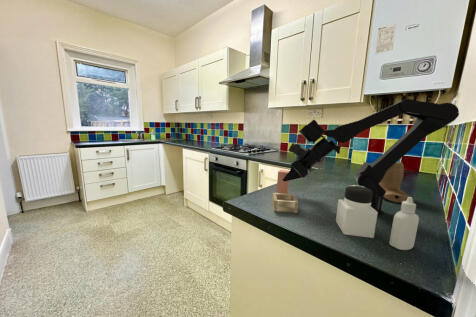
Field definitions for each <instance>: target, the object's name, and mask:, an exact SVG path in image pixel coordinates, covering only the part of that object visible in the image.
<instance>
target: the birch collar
mask: <svg viewBox="0 0 476 317" xmlns="http://www.w3.org/2000/svg"><path fill="white" fill-rule="evenodd" d="M271 196H272V197H271V198H272V199H271V204H272V209H273V212H284V213H295V214H296V213H298V212H299V201H298V198H297V197H296V195H295V193H288V194H282V193H277V192H272V194H271Z"/></svg>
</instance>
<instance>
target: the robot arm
mask: <svg viewBox="0 0 476 317" xmlns="http://www.w3.org/2000/svg"><path fill="white" fill-rule="evenodd" d="M401 115H406V116H409V117H412V118H415V121H414V122H413V124H412V126H411V127H410V129H409V130H407V131H406V132H405V133H404V134H403V135H402V136H400V138H399V139H397V140H396V141H395V142H394V143H393V144H392V145H391V146H389V148H388V149H387V150H385V151H384V152H383V153H382V154H381V155H380V156H379V157H378V158H377V159H375V161H373V162H371V163H368V162H367V161H364V162H363V164H362V165H361V166H360V167H359V168H357V169H355V171H356V172H355V174H354V180H355V181H356V183H357V185H358V186H363V187H366V188H368V189H370V190H371V191H372V192H373V194H372V201H371V205H370V206H371V207H372V208H373V209H375V210H376V211H377V212H378V214H382V215H384V214H385V211H383V210H382V206H383V202H384V201H383V200H384V197H383V196H384V195H385V193H386V191H385V190H384V189H383V188H382V187H381V186H380V185H379V183H380V182H381V181H382V179H383V178H384V176H385V174H386V172H387V170H388V169H389V168H390V167H392V166H393V165H394V164H395V163H396V162H400V160H401V159H402V158H404V157H405V156H406V155H407V154H408V153H409V152H410V151H411V150H413V149H414V148H415V147H416V146H418V144H419V143H420V142H421V141H422V140H424V139H425V138H426V137H428V136H429V135H431V134H433V133H435V132H437V131H439V130H441V129H443V128H445V127H446V126H448V125H449V124H451V123H452V122H455V120H457V119H458V117H459V116H460V112H459V108H458V106H457V105H456V104H454V103H452V102H444V103H443V102H441V103H435V102H429V101H420V100H414V99H411V98H404V99H402V100H399V101H397V102H396V103H395V104H392V105H390V106H387V107H386V108H384V109H381V110H378V111H377V112H374V113H372V114H370V115H367V116H365V117H363V118H361V119H358V120H355V121H352V122H349V123H344V124H341V125H338V126H336V127H334V128H333V129H325V130H324V129H323V127H321V126H320V124H318V122H317V121H316V119H312V120H311V121H310V122H309V123H308V124H305V125H304V126H303V127H301V129H300V130H299V131H298V132H299V133H300V135H301V136H302V137H303V138H304V139H305V140H306V141H307V142H308V143H312V144H314V145H313V146H311V147H309V148H307V149H306V148H304V146H302V145H301V144H299V143H295V142H292V143H291V145H290V146H289V147H288V152H289V153H292V154H295V155H296V156H297V157H296V158H295V160H294V161H292V162H291V163H290V170H288V171H289V172H288V174H287V175H286V176H285V177H284V178H283V181H284V182H285V181H289V182H290V181H293V180H297V179H302V178H303V179H304V178H306V177H307V176H308V175H309V171H310V170H311V169H312V168H313V167H314V166H315V165H317V164H318V163H321V162H322V160H323V159H325V157H327V156H328V155H330V154H331V153H333V151H334V152H336V153H337V155H340V153H341V148H342V146H341V145H337V144H336V143H341V144H342V143H346V142H348V141H350V140H351V139H354V138H355V137H356V136H358V135H359V134H361V133H362V132H364V131H365V130H368V129H371V128H372V127H376V126H377V125H379V124H381V123H384V122H386V121H389V120H391V119H394V118H396V117H399V116H401ZM324 135H325V136H326V137H325V136H324ZM327 138H332V139H333V140H334V141H335V142H336V143H335V142H334V141H333V140H332V139H330V140H328V139H327ZM319 139H320V140H319ZM317 141H318V142H317ZM315 142H316V143H315Z"/></svg>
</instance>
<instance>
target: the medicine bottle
mask: <svg viewBox="0 0 476 317" xmlns="http://www.w3.org/2000/svg"><path fill="white" fill-rule="evenodd" d="M344 191H345V192H344V199H343V198H342V199H338V201H337V208H336V209H337V210H336V217H335V223H336V224H337V226H338V227H339V229H340V230H341V231H342V234H343V235H346V236H353V237H362V238H363V237H364V238H369V239H373V238H375V233H376V227H377V221H378V214H379V213H378V212H377V211H376V210H375V209H373V208H372V207H371V206H370V205H371V201H372V194H373V192H372V191H371V190H370V189H368V188H366V187H363V186H359V185H358V184H357V185H355V184H353V185H348V186H346V187H345V190H344Z"/></svg>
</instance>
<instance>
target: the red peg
mask: <svg viewBox="0 0 476 317" xmlns="http://www.w3.org/2000/svg"><path fill="white" fill-rule="evenodd" d="M289 171H290V170H286V169H285V170H284V169H279V170H278V171H277V180H276V193H282V194H289V190H290V189H289V188H290V180H289V181H285V182H284V181H283V178H284V177H285V176H286V175H287V174H288V172H289Z"/></svg>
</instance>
